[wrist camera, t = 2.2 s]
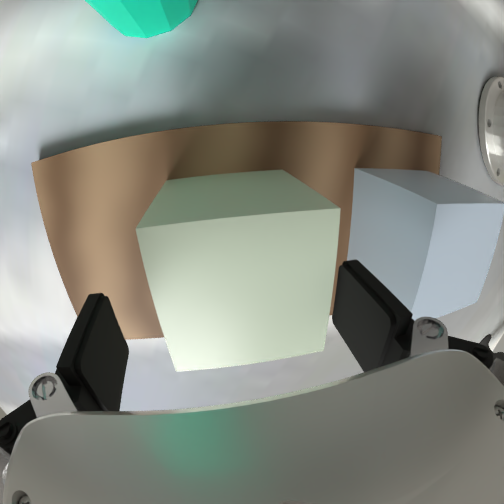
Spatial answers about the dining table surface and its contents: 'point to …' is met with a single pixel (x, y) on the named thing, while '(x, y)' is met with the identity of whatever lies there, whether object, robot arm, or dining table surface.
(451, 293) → the blue cover
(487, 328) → the dining table surface
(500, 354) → the sundae
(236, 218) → the pale green block
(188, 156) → the board
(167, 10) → the candle
